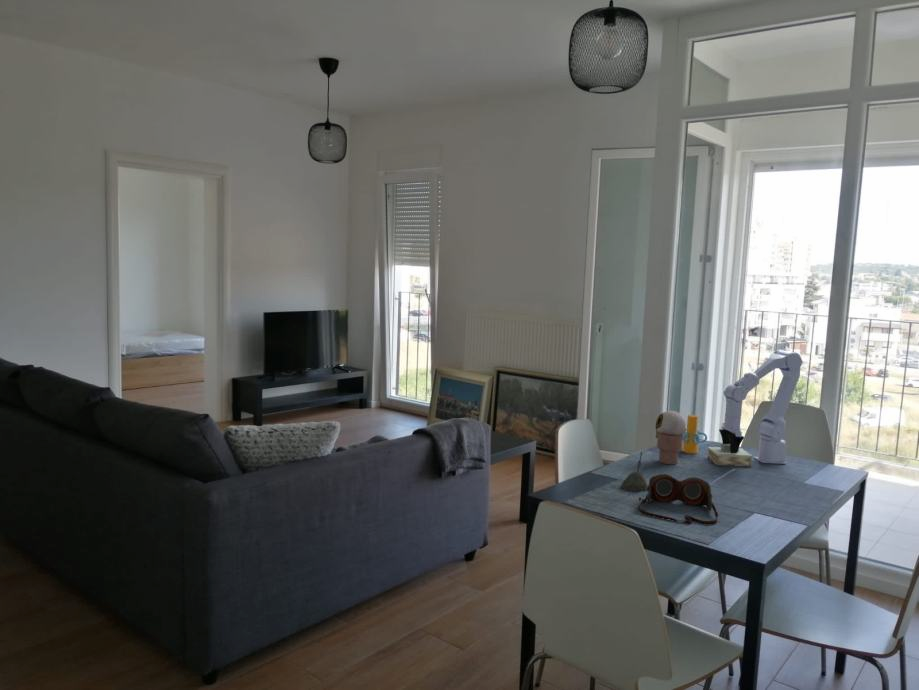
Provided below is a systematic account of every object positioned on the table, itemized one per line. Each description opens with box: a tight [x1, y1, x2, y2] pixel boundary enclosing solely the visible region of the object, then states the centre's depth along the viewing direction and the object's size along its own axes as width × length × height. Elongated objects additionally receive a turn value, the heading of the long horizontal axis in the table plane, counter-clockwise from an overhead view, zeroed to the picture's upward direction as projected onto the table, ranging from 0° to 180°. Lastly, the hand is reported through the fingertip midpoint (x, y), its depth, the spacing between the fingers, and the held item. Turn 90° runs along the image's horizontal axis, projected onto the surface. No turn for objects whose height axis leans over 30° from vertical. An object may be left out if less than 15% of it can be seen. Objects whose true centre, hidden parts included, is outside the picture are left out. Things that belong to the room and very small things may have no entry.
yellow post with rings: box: [681, 414, 708, 454], centre depth 289 cm, size 12×10×15 cm
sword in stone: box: [619, 451, 649, 493], centre depth 239 cm, size 10×8×12 cm
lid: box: [707, 443, 753, 459], centre depth 277 cm, size 13×10×4 cm
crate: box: [707, 449, 752, 467], centre depth 277 cm, size 13×10×4 cm
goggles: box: [637, 473, 719, 525], centre depth 218 cm, size 24×24×10 cm
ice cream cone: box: [655, 410, 687, 465], centre depth 272 cm, size 11×11×20 cm
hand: (729, 450), depth 277 cm, fingers open, 7 cm apart
